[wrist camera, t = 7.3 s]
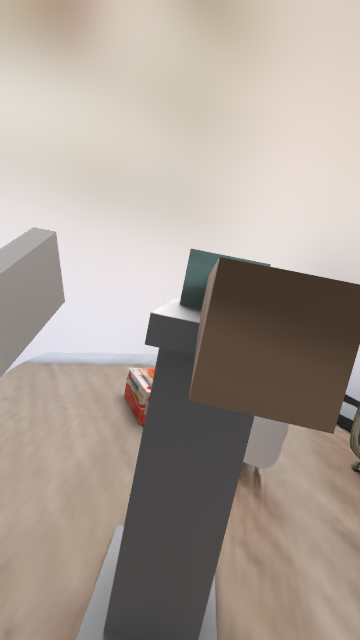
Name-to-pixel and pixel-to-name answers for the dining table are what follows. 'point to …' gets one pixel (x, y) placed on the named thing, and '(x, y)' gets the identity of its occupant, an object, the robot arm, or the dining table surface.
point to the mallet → (271, 339)
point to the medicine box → (139, 391)
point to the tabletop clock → (355, 439)
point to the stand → (171, 503)
